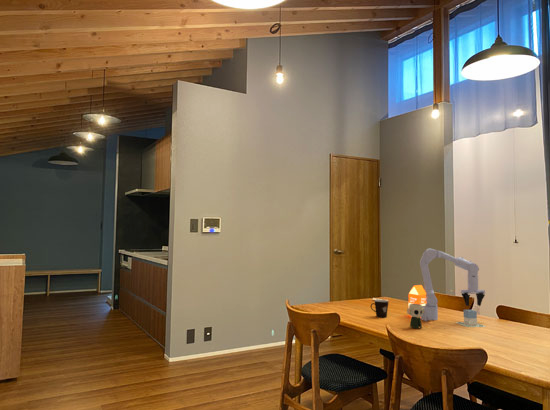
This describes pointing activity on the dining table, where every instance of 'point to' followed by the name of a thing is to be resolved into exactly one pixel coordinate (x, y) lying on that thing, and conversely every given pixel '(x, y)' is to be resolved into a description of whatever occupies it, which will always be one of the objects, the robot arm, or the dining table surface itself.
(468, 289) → the robot arm
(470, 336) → the dining table surface
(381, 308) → the coffee mug
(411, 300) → the orange juice
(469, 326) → the baseplate
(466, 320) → the cream block
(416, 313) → the toy figurine
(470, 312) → the blue block
